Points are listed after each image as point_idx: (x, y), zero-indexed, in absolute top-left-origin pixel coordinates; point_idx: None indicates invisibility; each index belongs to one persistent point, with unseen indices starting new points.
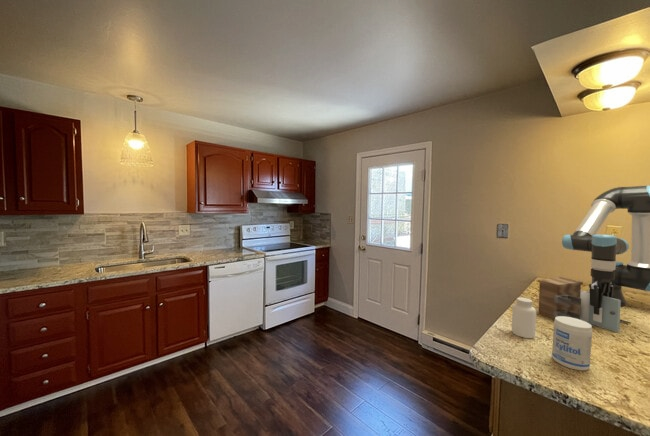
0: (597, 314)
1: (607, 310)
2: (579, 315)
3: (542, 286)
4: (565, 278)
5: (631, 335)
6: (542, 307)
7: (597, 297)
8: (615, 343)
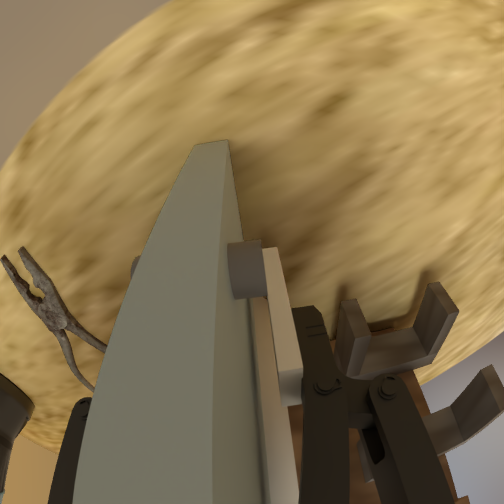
0: (315, 308)
1: (244, 330)
2: (362, 331)
3: None
4: None
5: (161, 84)
6: None
7: (429, 495)
8: (447, 40)
